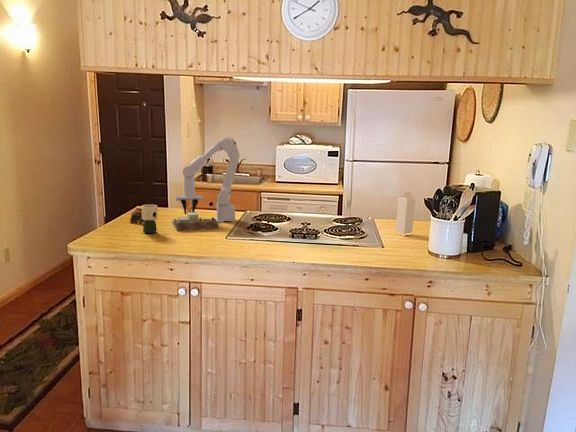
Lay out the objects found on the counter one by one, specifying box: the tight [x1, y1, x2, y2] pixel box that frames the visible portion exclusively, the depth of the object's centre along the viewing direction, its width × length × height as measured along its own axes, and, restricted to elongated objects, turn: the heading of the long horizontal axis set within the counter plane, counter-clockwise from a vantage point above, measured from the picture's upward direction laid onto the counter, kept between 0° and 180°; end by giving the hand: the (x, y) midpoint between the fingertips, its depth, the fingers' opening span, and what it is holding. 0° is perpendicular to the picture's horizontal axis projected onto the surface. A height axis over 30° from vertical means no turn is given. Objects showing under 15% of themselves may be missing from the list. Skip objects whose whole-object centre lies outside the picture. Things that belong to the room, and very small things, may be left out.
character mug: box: [141, 204, 158, 234], centre depth 237 cm, size 11×7×13 cm, turn 0°
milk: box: [395, 191, 417, 234], centre depth 253 cm, size 6×6×22 cm
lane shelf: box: [171, 216, 220, 232], centre depth 255 cm, size 20×18×4 cm
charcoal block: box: [177, 216, 189, 223], centre depth 249 cm, size 5×6×4 cm
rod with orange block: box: [186, 206, 199, 222], centre depth 263 cm, size 5×14×5 cm, turn 21°
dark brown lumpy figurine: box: [129, 207, 145, 225], centre depth 257 cm, size 12×10×8 cm
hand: (189, 213), depth 268 cm, fingers open, 3 cm apart
